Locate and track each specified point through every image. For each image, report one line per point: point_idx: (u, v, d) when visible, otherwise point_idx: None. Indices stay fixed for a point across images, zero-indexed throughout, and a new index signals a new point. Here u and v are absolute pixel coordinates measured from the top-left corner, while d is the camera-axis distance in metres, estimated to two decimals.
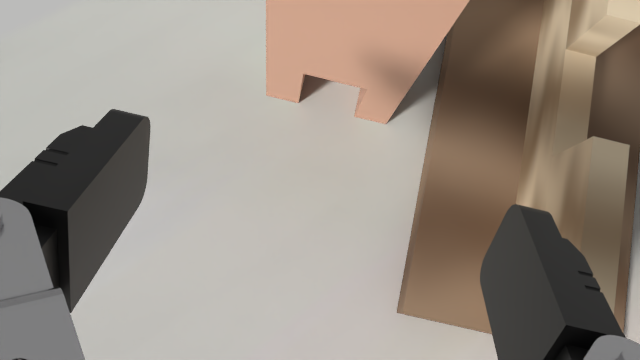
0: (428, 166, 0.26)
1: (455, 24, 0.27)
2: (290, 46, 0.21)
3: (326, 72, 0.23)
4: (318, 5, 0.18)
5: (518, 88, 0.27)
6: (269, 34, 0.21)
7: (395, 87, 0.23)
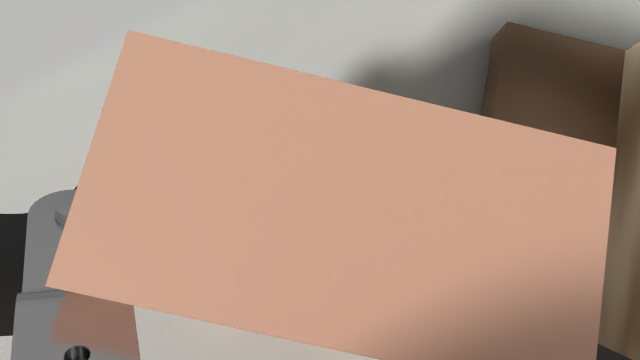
0: None
1: None
2: None
3: None
4: None
5: None
6: None
7: None
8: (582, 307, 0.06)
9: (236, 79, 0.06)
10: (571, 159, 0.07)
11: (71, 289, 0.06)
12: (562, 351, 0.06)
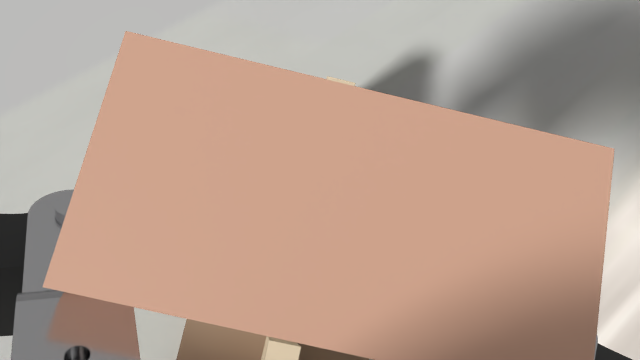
0: (184, 328, 0.29)
1: None
2: None
3: None
4: None
5: None
6: None
7: None
8: (580, 308, 0.06)
9: (234, 80, 0.06)
10: (569, 160, 0.07)
11: (68, 290, 0.06)
12: (558, 351, 0.06)
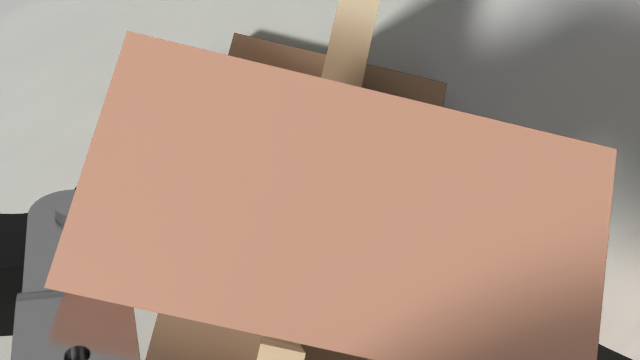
0: (155, 326, 0.22)
1: None
2: None
3: None
4: None
5: None
6: None
7: None
8: (583, 308, 0.06)
9: (236, 80, 0.06)
10: (572, 160, 0.07)
11: (70, 290, 0.06)
12: (561, 351, 0.06)
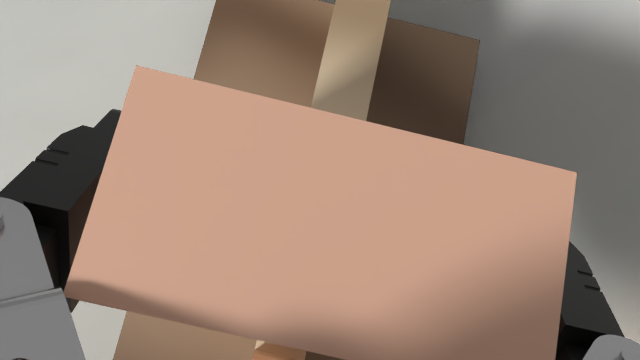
0: None
1: None
2: None
3: None
4: None
5: None
6: None
7: None
8: (543, 316, 0.07)
9: (233, 110, 0.07)
10: (535, 182, 0.07)
11: (85, 299, 0.07)
12: (523, 356, 0.07)
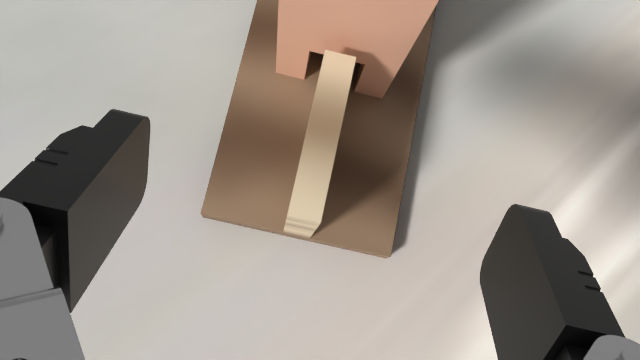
0: None
1: None
2: (298, 25, 0.25)
3: (329, 49, 0.26)
4: None
5: None
6: (281, 14, 0.24)
7: (390, 62, 0.26)
8: None
9: None
10: None
11: None
12: None
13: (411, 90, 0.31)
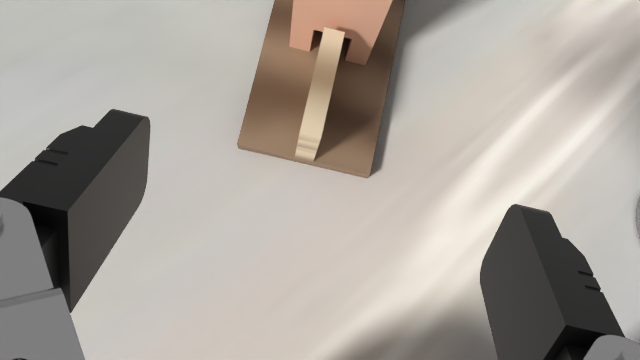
0: (259, 60, 0.42)
1: None
2: (306, 10, 0.37)
3: None
4: None
5: None
6: (295, 3, 0.36)
7: (368, 37, 0.38)
8: None
9: None
10: None
11: None
12: None
13: (386, 60, 0.43)
